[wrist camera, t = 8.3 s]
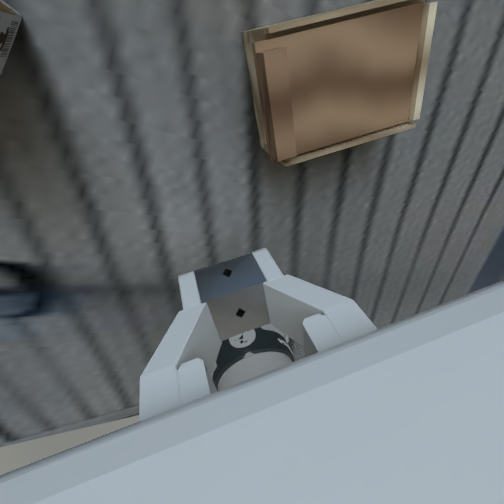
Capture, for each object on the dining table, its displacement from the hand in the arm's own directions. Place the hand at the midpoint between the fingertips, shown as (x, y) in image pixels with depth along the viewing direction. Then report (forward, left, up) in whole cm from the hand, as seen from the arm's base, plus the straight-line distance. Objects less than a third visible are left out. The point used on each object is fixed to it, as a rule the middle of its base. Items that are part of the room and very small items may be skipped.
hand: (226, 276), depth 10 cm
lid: (0, -17, -22) cm, 28 cm away
